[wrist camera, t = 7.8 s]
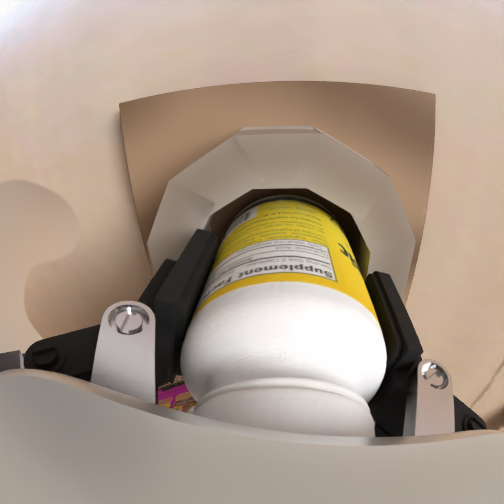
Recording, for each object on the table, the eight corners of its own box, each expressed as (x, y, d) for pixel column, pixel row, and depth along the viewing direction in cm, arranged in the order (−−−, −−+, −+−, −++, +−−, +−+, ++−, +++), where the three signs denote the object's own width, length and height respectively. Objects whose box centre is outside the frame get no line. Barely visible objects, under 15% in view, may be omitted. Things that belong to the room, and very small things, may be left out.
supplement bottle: (342, 296, 14) (371, 497, 5) (232, 298, 15) (183, 493, 6) (349, 189, 11) (461, 406, 3) (218, 193, 12) (92, 400, 4)
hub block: (389, 327, 17) (406, 377, 14) (177, 326, 19) (157, 374, 15) (423, 93, 10) (472, 97, 7) (131, 102, 12) (80, 109, 8)
